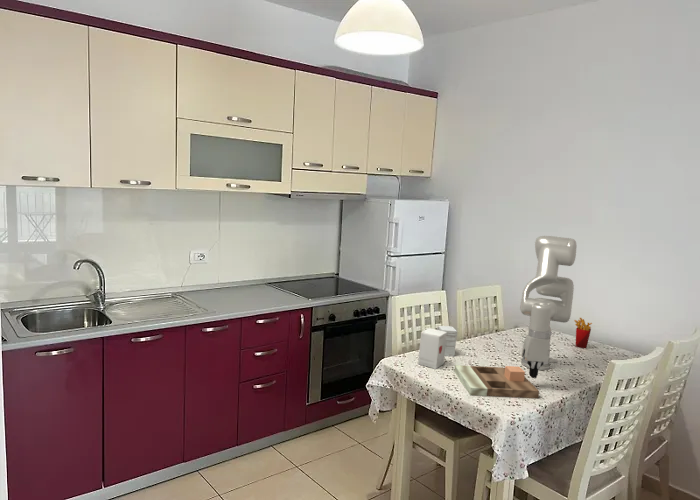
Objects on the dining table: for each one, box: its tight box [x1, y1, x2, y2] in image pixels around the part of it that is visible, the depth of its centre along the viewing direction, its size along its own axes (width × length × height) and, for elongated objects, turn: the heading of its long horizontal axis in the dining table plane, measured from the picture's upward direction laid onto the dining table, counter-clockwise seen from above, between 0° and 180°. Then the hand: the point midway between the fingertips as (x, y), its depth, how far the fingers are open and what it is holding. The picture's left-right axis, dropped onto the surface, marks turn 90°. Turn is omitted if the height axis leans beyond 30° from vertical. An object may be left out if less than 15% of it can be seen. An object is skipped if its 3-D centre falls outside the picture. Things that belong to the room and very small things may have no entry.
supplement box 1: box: [417, 327, 447, 370], centre depth 229 cm, size 9×9×15 cm
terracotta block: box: [504, 365, 526, 382], centre depth 212 cm, size 6×6×4 cm
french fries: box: [574, 317, 593, 349], centre depth 272 cm, size 9×8×15 cm
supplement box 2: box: [437, 325, 458, 357], centre depth 245 cm, size 7×7×13 cm
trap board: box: [454, 364, 540, 399], centre depth 212 cm, size 27×24×3 cm
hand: (533, 376), depth 213 cm, fingers closed
